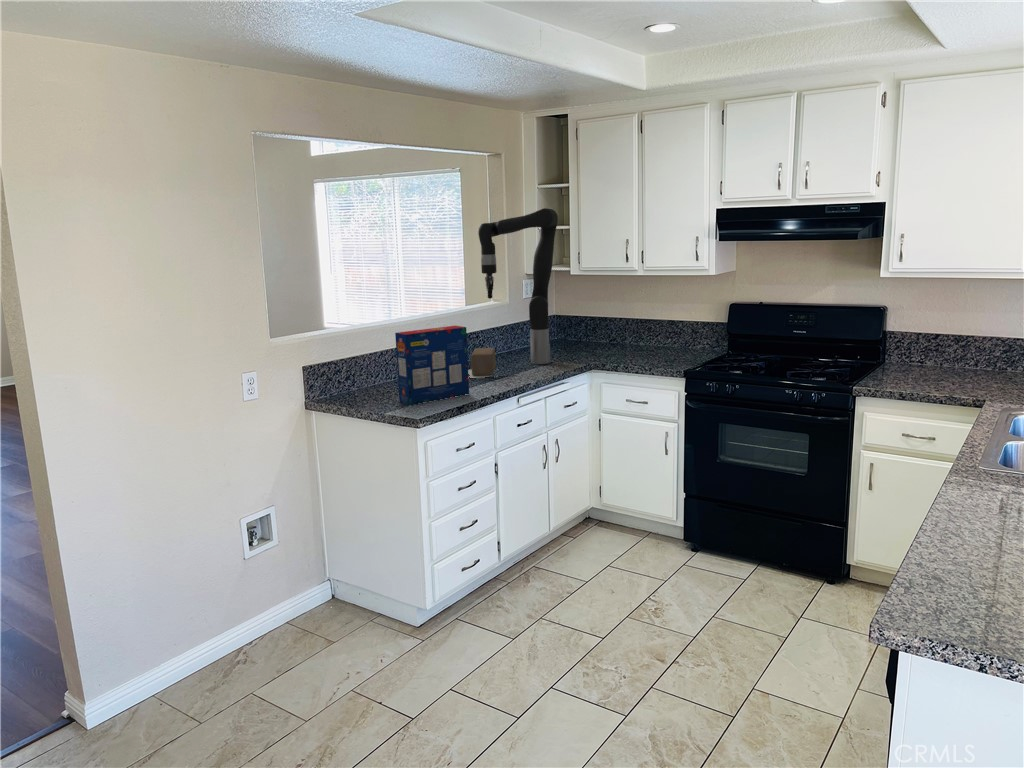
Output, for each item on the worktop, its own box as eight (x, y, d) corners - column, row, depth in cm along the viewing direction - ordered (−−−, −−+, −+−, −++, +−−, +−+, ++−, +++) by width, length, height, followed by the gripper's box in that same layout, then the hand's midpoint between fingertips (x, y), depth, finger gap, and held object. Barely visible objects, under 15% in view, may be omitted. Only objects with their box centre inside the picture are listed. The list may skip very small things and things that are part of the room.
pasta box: (458, 391, 322) (455, 325, 317) (469, 394, 316) (466, 327, 310) (399, 402, 306) (395, 332, 300) (409, 405, 299) (405, 334, 294)
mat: (509, 367, 373) (509, 367, 373) (516, 376, 352) (516, 375, 352) (463, 370, 370) (463, 369, 370) (468, 379, 349) (468, 378, 349)
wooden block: (495, 347, 371) (492, 354, 351) (495, 367, 373) (493, 375, 353) (474, 348, 371) (470, 354, 351) (475, 368, 373) (471, 376, 353)
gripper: (498, 263, 379) (499, 299, 383) (494, 262, 392) (495, 296, 395) (482, 264, 378) (484, 299, 381) (479, 263, 391) (481, 297, 394)
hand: (490, 298), depth 388 cm, fingers closed
